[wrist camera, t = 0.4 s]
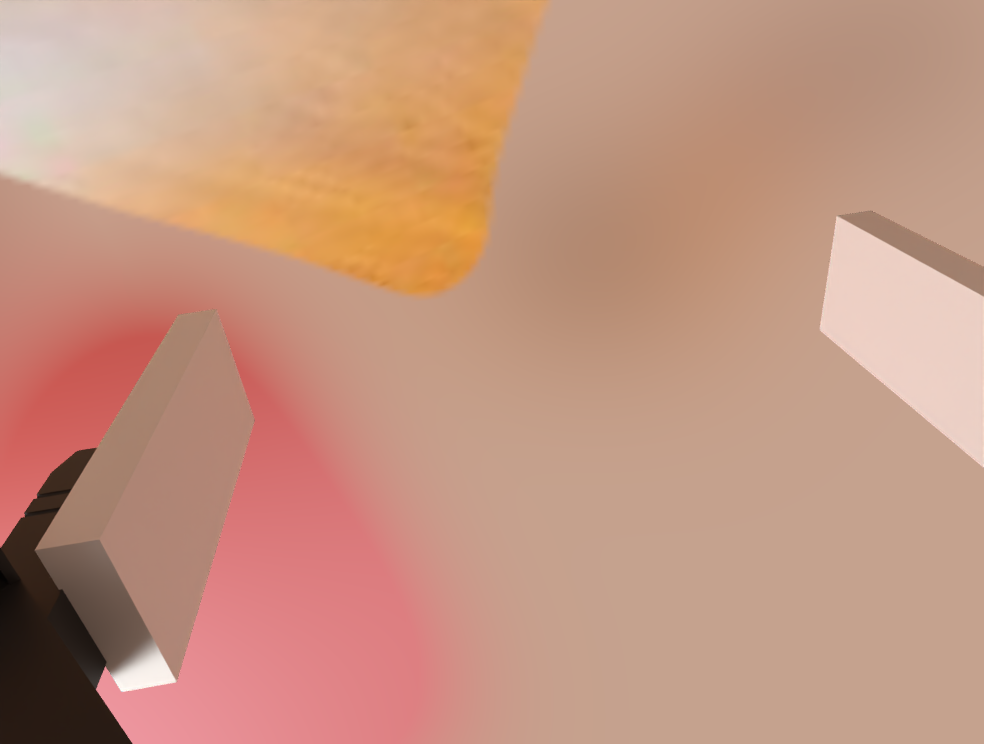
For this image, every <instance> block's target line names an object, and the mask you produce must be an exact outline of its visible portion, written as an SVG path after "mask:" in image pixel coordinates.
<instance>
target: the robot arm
mask: <svg viewBox="0 0 984 744" xmlns="http://www.w3.org/2000/svg"><path fill="white" fill-rule="evenodd" d="M820 331H821V332H823V333H824V334H825V335H826V336H827V337H828V338H830V339H831V340H832V341H833V342H835V343H836V344H837V345H838V346H839V347H840V348H842V349H843V350H844V351H845V352H846V353H848V354H849V355H850V356H851V357H852V358H854V359H855V360H856V361H857V362H858V363H859V364H861V365H862V366H863V367H864V368H865V369H867V370H868V371H869V372H870V373H871V374H873V375H874V376H875V377H876V378H877V379H879V380H880V381H881V382H882V383H883V384H885V385H886V386H887V387H888V388H889V389H890V390H892V391H893V392H894V393H895V394H897V395H898V396H899V397H900V398H901V399H902V400H904V401H905V402H906V403H907V404H909V405H910V406H911V407H912V408H913V409H914V410H916V411H917V412H918V413H919V414H920V415H922V416H923V417H924V418H925V419H926V420H928V421H929V422H930V423H931V424H932V425H933V426H935V427H936V428H937V429H939V431H941V432H942V433H943V434H944V435H945V436H947V437H948V438H949V439H950V440H951V441H953V442H954V443H955V444H956V445H957V446H959V447H960V448H961V449H962V450H963V451H964V452H966V453H967V454H968V455H969V456H970V457H972V458H973V459H974V460H975V461H976V462H978V463H979V464H980V465H981V466H982V467H984V267H983V266H981V265H979V264H977V263H975V262H973V261H971V260H969V259H967V258H965V257H963V256H961V255H959V254H957V253H955V252H953V251H951V250H949V249H947V248H945V247H943V246H941V245H939V244H937V243H935V242H933V241H931V240H929V239H927V238H924V237H923V236H921V235H919V234H917V233H915V232H913V231H911V230H909V229H907V228H905V227H903V226H901V225H899V224H897V223H895V222H893V221H891V220H889V219H887V218H885V217H883V216H881V215H879V214H877V213H875V212H873V211H866V212H859V213H852V214H846V215H839V216H837V218H836V225H835V232H834V238H833V245H832V252H831V258H830V265H829V271H828V278H827V284H826V291H825V298H824V304H823V311H822V318H821V324H820ZM254 421H255V420H254V417H253V414H252V411H251V408H250V405H249V402H248V399H247V396H246V393H245V390H244V387H243V385H242V382H241V379H240V376H239V373H238V370H237V367H236V364H235V361H234V358H233V356H232V352H231V350H230V347H229V344H228V341H227V338H226V335H225V332H224V329H223V326H222V323H221V320H220V317H219V315H218V312H217V309H213V310H207V311H200V312H193V313H186V314H180V315H178V316H177V318H176V319H175V321H174V323H173V324H172V326H171V328H170V329H169V331H168V333H167V334H166V336H165V338H164V339H163V341H162V342H161V344H160V346H159V348H158V349H157V351H156V352H155V354H154V356H153V357H152V359H151V361H150V362H149V364H148V365H147V367H146V369H145V370H144V372H143V374H142V375H141V377H140V378H139V380H138V382H137V383H136V385H135V387H134V388H133V390H132V392H131V393H130V395H129V396H128V398H127V400H126V401H125V403H124V405H123V406H122V408H121V410H120V411H119V413H118V415H117V416H116V418H115V419H114V421H113V423H112V424H111V426H110V428H109V429H108V431H107V432H106V434H105V436H104V438H103V439H102V441H101V442H100V444H99V446H98V447H97V448H92V449H86V450H79V451H77V452H75V453H74V454H73V455H72V456H71V457H69V458H68V459H67V460H66V461H65V462H64V463H62V464H61V465H60V466H59V467H58V468H56V469H55V470H54V471H53V472H52V473H51V474H50V476H49V477H48V479H47V480H46V482H45V483H44V484H43V486H42V488H41V489H40V490H39V492H38V493H37V499H33V501H32V502H31V504H30V505H29V507H28V508H27V510H26V511H25V513H24V514H25V517H23V518H21V519H20V520H19V522H18V523H17V525H16V526H15V528H14V529H13V531H12V532H11V534H10V535H9V537H8V538H7V540H6V541H5V543H4V544H3V546H2V547H1V548H0V744H132V742H131V741H130V739H129V738H128V737H127V735H126V733H125V732H124V731H123V729H122V728H121V726H120V725H119V723H118V722H117V720H116V719H115V717H114V716H113V714H112V713H111V711H110V710H109V708H108V707H107V705H106V704H105V702H104V701H103V700H102V698H101V697H100V695H99V694H98V692H97V691H96V688H97V685H98V683H99V680H100V677H101V675H102V673H103V670H104V668H105V666H106V668H107V669H108V671H109V672H110V674H111V675H112V677H113V679H114V680H115V682H116V684H117V685H118V687H119V689H120V690H121V692H124V691H130V690H135V689H141V688H147V687H152V686H158V685H163V684H169V683H175V682H177V679H178V676H179V672H180V669H181V666H182V662H183V659H184V656H185V652H186V649H187V646H188V642H189V639H190V635H191V632H192V629H193V626H194V622H195V619H196V616H197V612H198V609H199V605H200V602H201V599H202V595H203V592H204V589H205V585H206V582H207V578H208V575H209V572H210V569H211V565H212V562H213V559H214V555H215V552H216V548H217V545H218V541H219V538H220V535H221V531H222V528H223V525H224V522H225V518H226V515H227V512H228V508H229V505H230V502H231V498H232V495H233V491H234V488H235V485H236V481H237V478H238V475H239V471H240V468H241V465H242V461H243V458H244V455H245V451H246V448H247V445H248V441H249V438H250V434H251V431H252V428H253V424H254Z"/></svg>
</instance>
